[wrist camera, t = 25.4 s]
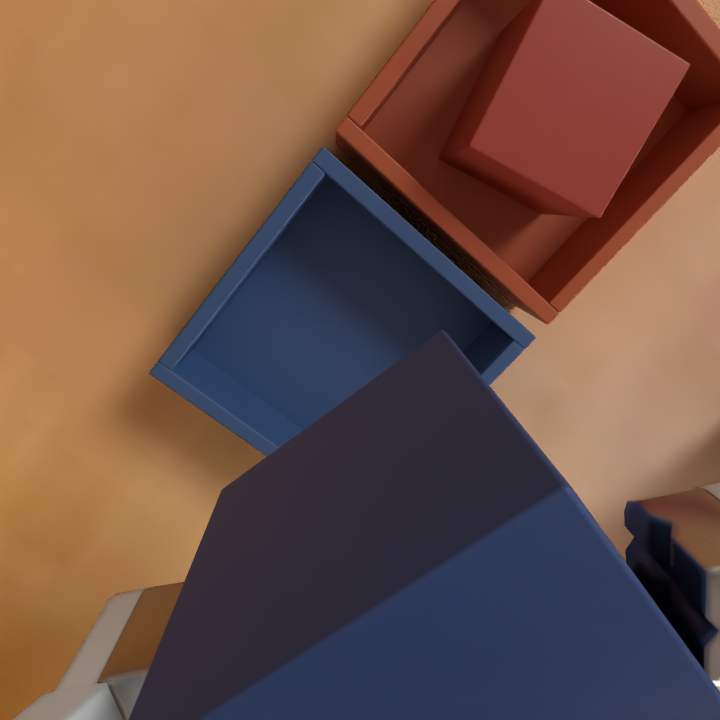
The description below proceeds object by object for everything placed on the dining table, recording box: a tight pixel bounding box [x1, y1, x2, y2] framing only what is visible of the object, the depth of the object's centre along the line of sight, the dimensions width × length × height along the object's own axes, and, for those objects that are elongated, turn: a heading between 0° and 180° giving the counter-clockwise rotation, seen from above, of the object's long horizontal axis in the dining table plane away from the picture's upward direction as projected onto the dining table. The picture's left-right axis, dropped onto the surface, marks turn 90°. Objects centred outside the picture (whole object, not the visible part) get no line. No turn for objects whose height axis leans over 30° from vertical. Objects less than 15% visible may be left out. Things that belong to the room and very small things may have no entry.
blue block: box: [129, 330, 720, 720], centre depth 7 cm, size 5×5×5 cm
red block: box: [439, 0, 690, 218], centre depth 17 cm, size 5×5×5 cm
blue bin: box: [149, 147, 536, 456], centre depth 20 cm, size 10×10×4 cm
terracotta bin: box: [336, 0, 720, 324], centre depth 18 cm, size 10×10×4 cm
